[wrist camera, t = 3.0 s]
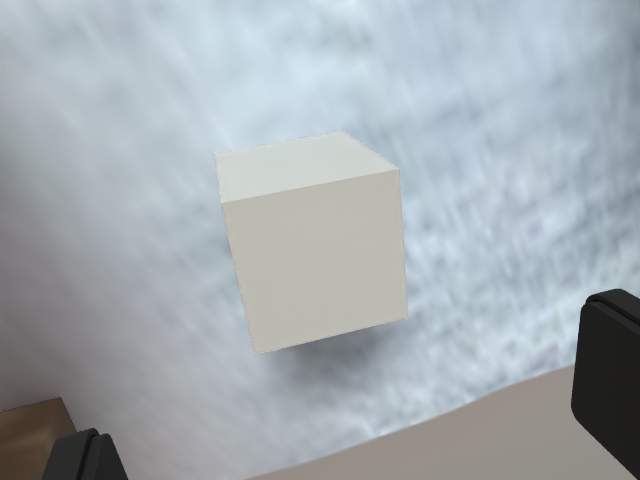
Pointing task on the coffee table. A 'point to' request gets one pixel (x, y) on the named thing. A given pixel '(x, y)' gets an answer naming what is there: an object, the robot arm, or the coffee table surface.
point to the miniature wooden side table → (31, 438)
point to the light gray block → (313, 237)
